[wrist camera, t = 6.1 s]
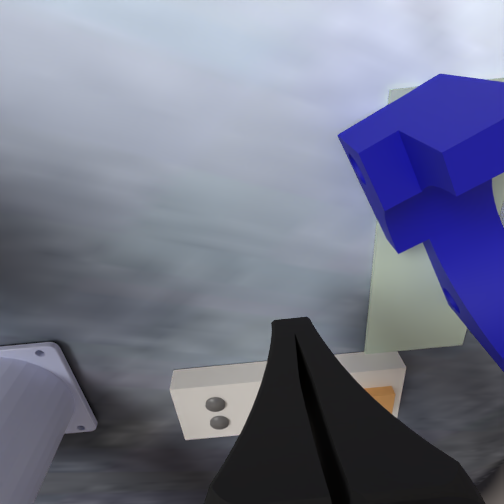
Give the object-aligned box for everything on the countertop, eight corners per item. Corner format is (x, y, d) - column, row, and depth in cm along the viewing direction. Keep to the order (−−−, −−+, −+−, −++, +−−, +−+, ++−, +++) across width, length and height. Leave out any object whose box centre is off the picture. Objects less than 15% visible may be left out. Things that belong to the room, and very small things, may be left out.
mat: (364, 351, 22) (365, 354, 22) (389, 89, 14) (391, 90, 14) (460, 342, 22) (462, 344, 22) (536, 74, 14) (539, 75, 14)
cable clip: (337, 135, 15) (390, 181, 10) (439, 73, 14) (558, 89, 9) (422, 315, 20) (486, 407, 15) (501, 281, 19) (598, 366, 14)
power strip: (187, 419, 25) (184, 448, 23) (173, 369, 22) (167, 398, 20) (387, 400, 25) (400, 428, 23) (396, 348, 22) (410, 375, 20)
